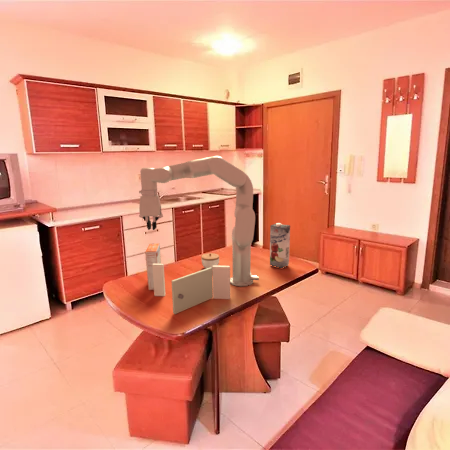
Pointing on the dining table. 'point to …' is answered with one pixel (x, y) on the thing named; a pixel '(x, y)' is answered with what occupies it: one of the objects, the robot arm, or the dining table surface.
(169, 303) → the dining table surface
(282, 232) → the juice carton
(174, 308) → the door
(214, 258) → the lidded jar
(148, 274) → the cracker box
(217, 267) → the door frame
